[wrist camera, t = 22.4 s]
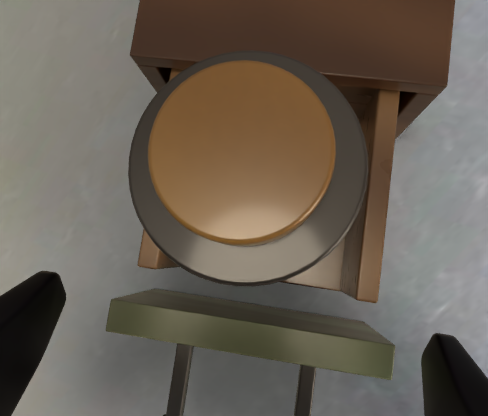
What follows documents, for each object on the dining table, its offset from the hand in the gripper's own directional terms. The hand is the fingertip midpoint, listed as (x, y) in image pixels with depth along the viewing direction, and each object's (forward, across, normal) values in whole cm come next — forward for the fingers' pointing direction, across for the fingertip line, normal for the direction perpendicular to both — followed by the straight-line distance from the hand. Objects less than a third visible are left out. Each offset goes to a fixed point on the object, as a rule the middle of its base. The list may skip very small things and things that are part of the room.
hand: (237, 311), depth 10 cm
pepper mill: (+9, 0, +4) cm, 10 cm away
